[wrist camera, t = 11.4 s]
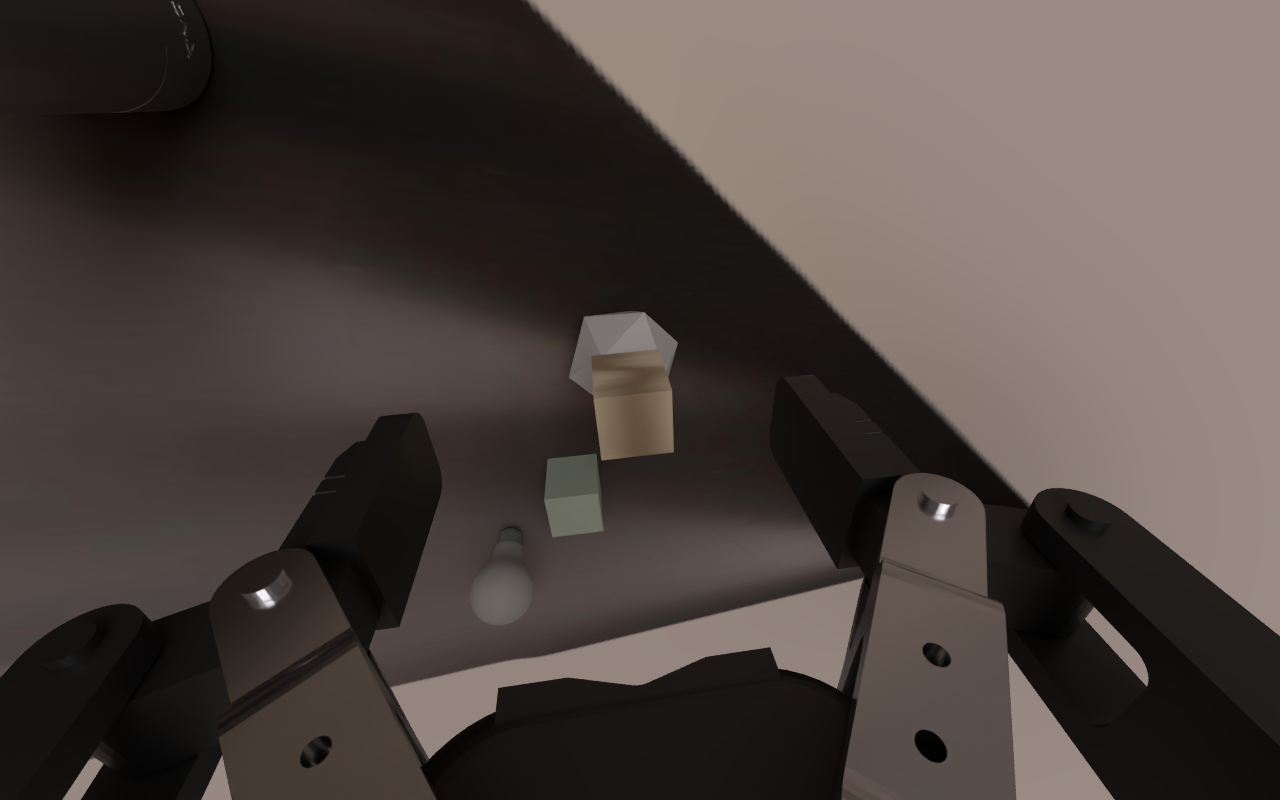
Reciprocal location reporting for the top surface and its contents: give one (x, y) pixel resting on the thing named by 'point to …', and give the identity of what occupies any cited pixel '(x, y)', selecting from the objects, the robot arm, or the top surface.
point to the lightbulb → (503, 583)
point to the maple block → (632, 404)
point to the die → (618, 341)
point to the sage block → (573, 495)
